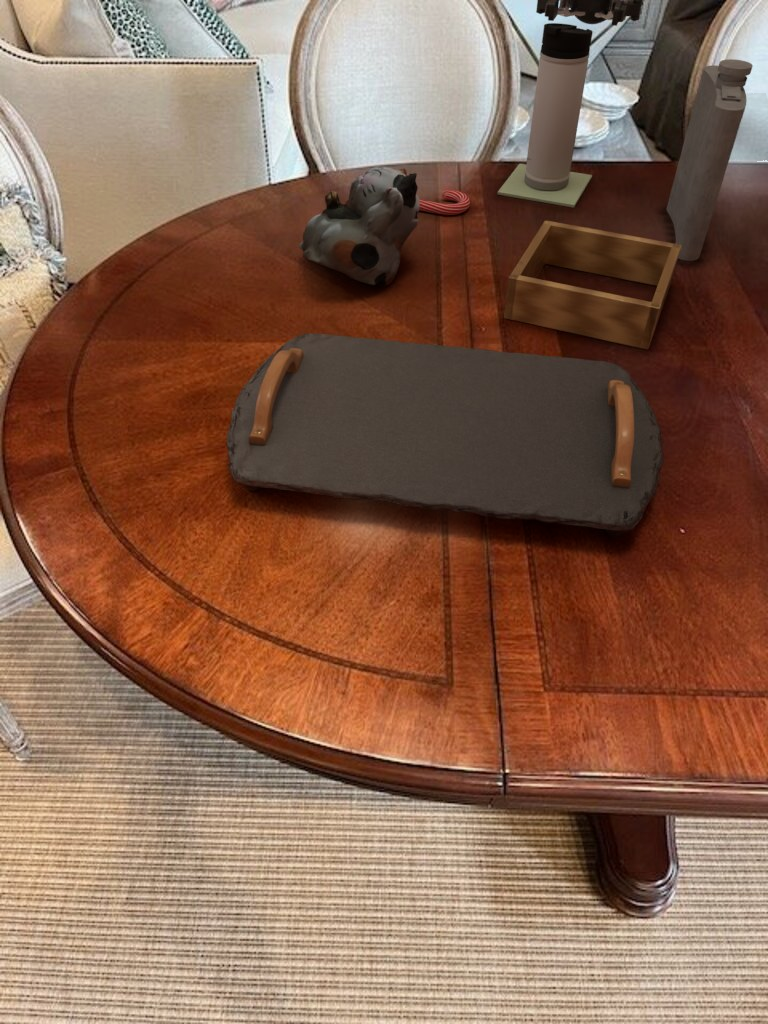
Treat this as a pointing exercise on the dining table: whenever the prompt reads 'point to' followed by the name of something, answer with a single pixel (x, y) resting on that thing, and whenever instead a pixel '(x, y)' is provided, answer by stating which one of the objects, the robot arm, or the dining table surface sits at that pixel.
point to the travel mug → (557, 105)
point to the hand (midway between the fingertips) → (583, 14)
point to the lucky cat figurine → (365, 226)
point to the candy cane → (447, 208)
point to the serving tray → (449, 431)
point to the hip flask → (706, 152)
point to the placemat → (562, 197)
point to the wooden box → (585, 306)
